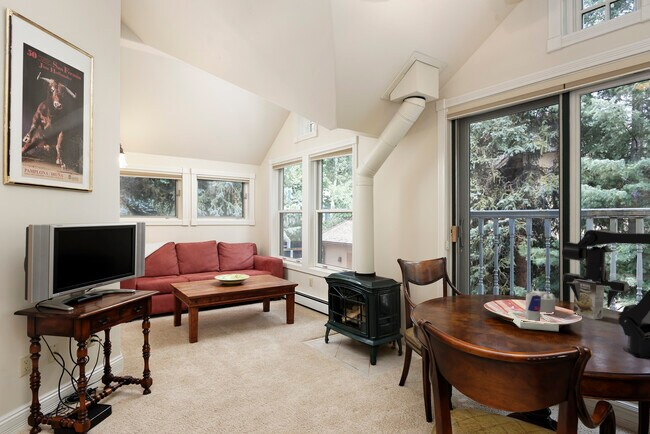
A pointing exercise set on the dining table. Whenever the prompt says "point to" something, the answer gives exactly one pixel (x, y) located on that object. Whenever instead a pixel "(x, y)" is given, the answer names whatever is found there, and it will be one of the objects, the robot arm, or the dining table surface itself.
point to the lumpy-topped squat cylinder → (546, 302)
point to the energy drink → (533, 306)
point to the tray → (534, 323)
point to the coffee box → (590, 301)
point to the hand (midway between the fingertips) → (593, 304)
